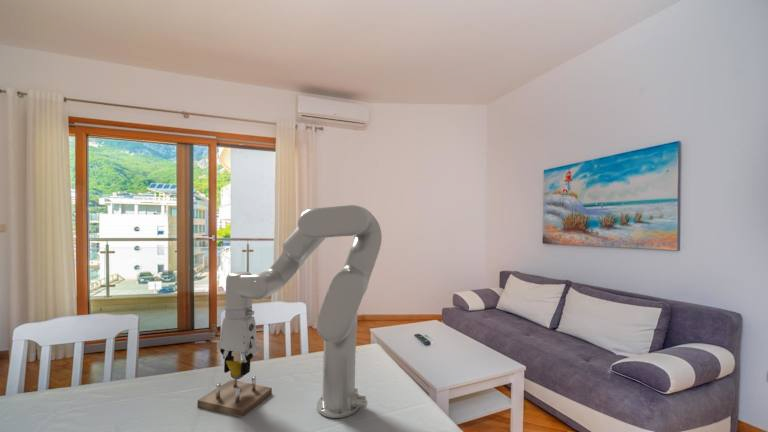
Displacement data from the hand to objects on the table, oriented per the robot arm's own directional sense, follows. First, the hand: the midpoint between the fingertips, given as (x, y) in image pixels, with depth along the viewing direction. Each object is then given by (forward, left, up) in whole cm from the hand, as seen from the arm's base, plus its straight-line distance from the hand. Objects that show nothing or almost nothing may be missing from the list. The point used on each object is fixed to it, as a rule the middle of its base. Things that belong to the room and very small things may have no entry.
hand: (237, 371), depth 98 cm
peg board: (0, 0, -8) cm, 8 cm away
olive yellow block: (0, 0, -2) cm, 2 cm away
